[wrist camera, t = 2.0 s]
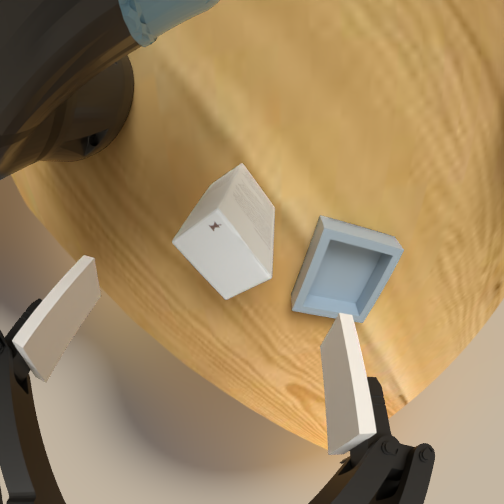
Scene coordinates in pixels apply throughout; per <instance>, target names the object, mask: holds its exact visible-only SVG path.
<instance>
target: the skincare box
mask: <svg viewBox="0 0 504 504" xmlns="http://www.w3.org/2000/svg"><path fill="white" fill-rule="evenodd" d="M274 220H275V207H274V206H273V204H272V203H271V202H270V200H269V199H268V197H267V196H266V195H265V193H264V192H263V190H262V189H261V188H260V186H259V185H258V183H257V182H256V181H255V179H254V178H253V177H252V175H251V174H250V173H249V171H248V170H247V168H246V167H245V166H244V164H243V163H241V164H240V165H238V166H237V167H235V168H234V169H232V170H231V171H229V172H228V173H226V174H225V175H223V176H222V177H221V178H219V179H218V180H216V181H215V182H214V183H212V184H211V185H210V186H209V188H208V189H207V190H206V192H205V193H204V194H203V196H202V197H201V199H200V200H199V202H198V203H197V204H196V206H195V207H194V209H193V210H192V212H191V213H190V215H189V216H188V218H187V219H186V221H185V222H184V223H183V225H182V227H181V228H180V230H179V231H178V233H177V234H176V235H175V237H174V239H173V240H172V243H173V244H174V245H175V247H176V248H177V249H178V250H179V251H180V252H181V253H182V254H183V255H184V256H185V258H186V259H187V260H188V261H189V262H190V263H191V264H192V265H193V266H194V267H195V268H196V269H197V271H198V272H199V273H200V274H201V275H202V276H203V277H204V278H205V279H206V280H207V281H208V282H209V283H210V284H211V285H212V286H213V287H214V289H215V290H216V291H217V292H218V293H219V294H220V295H221V296H222V297H223V298H224V299H225V300H228V299H229V298H231V297H234V296H236V295H238V294H240V293H242V292H244V291H246V290H248V289H251V288H253V287H255V286H257V285H259V284H261V283H263V282H265V281H268V280H270V279H271V278H272V270H273V245H274Z"/></svg>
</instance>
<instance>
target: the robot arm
mask: <svg viewBox="0 0 504 504" xmlns="http://www.w3.org/2000/svg"><path fill="white" fill-rule="evenodd" d="M219 1H220V0H0V180H1V179H3V178H5V177H7V176H9V175H11V174H13V173H15V172H17V171H19V170H21V169H23V168H25V167H27V166H28V165H31V164H33V163H35V162H37V161H64V162H72V161H78V160H81V159H84V158H86V157H89V156H91V155H93V154H96V153H98V152H99V151H101V150H102V149H104V148H105V147H106V146H107V145H108V144H110V143H111V141H112V140H113V139H114V138H115V137H116V135H117V134H118V133H119V131H120V130H121V128H122V126H123V124H124V122H125V120H126V118H127V115H128V113H129V110H130V106H131V102H132V97H133V86H134V81H133V71H132V67H131V63H130V61H129V58H128V56H127V55H128V54H129V53H131V52H133V51H134V50H136V49H138V48H139V47H141V46H143V47H146V46H148V45H150V44H152V43H153V42H155V41H156V39H157V37H158V36H159V35H161V34H163V33H165V32H166V31H168V30H170V29H171V28H173V27H175V26H177V25H179V24H181V23H182V22H184V21H186V20H188V19H190V18H192V17H194V16H196V15H199V14H201V13H203V12H205V11H207V10H209V9H210V8H212V7H213V6H214V5H216V4H217V3H218V2H219ZM100 297H101V292H100V287H99V281H98V276H97V270H96V264H95V258H93V257H90V256H86V255H83V256H82V257H81V258H80V259H79V260H78V261H77V263H76V264H75V265H74V266H73V267H72V268H71V269H70V270H69V271H68V272H67V273H66V274H65V276H64V277H63V278H62V279H61V280H60V281H59V282H58V283H57V285H56V286H55V287H54V288H53V289H52V290H51V291H50V292H49V294H48V295H47V296H46V297H45V299H44V300H41V299H38V300H36V301H35V302H33V303H32V304H31V305H30V306H29V307H28V308H27V310H26V312H24V313H23V315H22V316H21V318H19V320H18V321H17V322H16V323H15V325H14V326H13V327H12V329H11V330H10V331H9V333H8V334H7V336H6V337H4V336H3V334H2V332H1V331H0V466H1V470H2V474H3V477H4V480H5V484H6V487H7V490H8V493H9V499H8V501H7V504H66V503H65V501H64V499H63V497H62V494H61V492H60V490H59V487H58V485H57V482H56V480H55V477H54V475H53V472H52V469H51V466H50V463H49V460H48V457H47V454H46V451H45V447H44V444H43V441H42V437H41V433H40V429H39V425H38V421H37V416H36V411H35V407H34V400H33V395H32V388H31V382H30V376H29V374H28V373H29V371H30V370H31V371H32V372H33V374H34V375H35V376H36V377H37V378H39V379H41V380H42V381H44V382H47V380H48V378H49V377H50V375H51V373H52V371H53V370H54V368H55V366H56V364H57V363H58V361H59V359H60V358H61V356H62V354H63V353H64V351H65V350H66V348H67V346H68V345H69V343H70V342H71V340H72V338H73V337H74V335H75V334H76V332H77V331H78V329H79V328H80V326H81V325H82V323H83V322H84V320H85V319H86V317H87V316H88V314H89V312H90V311H91V310H92V308H93V307H94V306H95V304H96V303H97V301H98V300H99V298H100ZM320 349H321V359H322V369H323V380H324V391H325V404H326V419H327V436H328V454H329V455H335V454H345V453H346V452H348V451H350V457H348V458H346V459H344V460H342V462H340V463H341V464H342V463H344V462H345V463H344V464H343V465H342V466H341V468H340V469H339V470H338V471H337V472H336V474H335V475H334V476H333V477H332V478H331V480H330V481H329V482H328V483H327V484H326V485H325V486H324V488H323V489H322V490H321V491H320V492H319V493H318V494H317V495H316V496H315V497H314V499H313V500H311V501H310V502H309V503H308V504H423V503H424V500H425V496H426V493H427V489H428V485H429V482H430V477H431V474H432V469H433V465H434V460H435V452H434V449H433V448H432V447H431V445H429V444H426V443H423V444H420V445H418V446H416V447H412V446H407V445H403V444H400V443H399V441H398V440H397V439H396V438H395V437H393V436H392V435H391V431H390V426H389V421H388V415H387V410H386V405H385V400H384V398H383V391H382V387H381V385H380V383H379V381H378V380H377V378H376V377H367V376H366V371H365V366H364V362H363V357H362V353H361V348H360V344H359V340H358V336H357V332H356V328H355V324H354V320H353V316H352V315H350V314H344V313H339V314H338V316H337V318H336V319H335V321H334V323H333V325H332V327H331V328H330V330H329V332H328V334H327V335H326V337H325V339H324V341H323V342H322V344H321V346H320ZM0 504H3V502H2V495H1V488H0Z"/></svg>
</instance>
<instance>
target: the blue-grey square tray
mask: <svg viewBox="0 0 504 504" xmlns="http://www.w3.org/2000/svg"><path fill="white" fill-rule="evenodd" d="M403 251H404V249H403V248H402V246H401V245H400V244H399V242H398V241H397V239H396V238H395V237H394V236H391V235H387V234H384V233H381V232H378V231H374V230H371V229H367V228H364V227H361V226H357V225H354V224H350V223H346V222H343V221H339V220H336V219H332V218H328V217H325V216H321V215H320V217H319V220H318V223H317V226H316V229H315V231H314V234H313V237H312V240H311V243H310V245H309V248H308V251H307V254H306V256H305V259H304V262H303V265H302V267H301V270H300V273H299V275H298V278H297V280H296V283H295V286H294V288H293V291H292V293H291V302H292V311H297V312H302V313H307V314H313V315H318V316H324V317H330V318H337V316H338V314H339V313H344V314H350V315H352V316H353V320H354V322H360V323H363V322H364V320H365V318H366V317H367V315H368V314H369V312H370V310H371V309H372V307H373V305H374V304H375V302H376V300H377V299H378V297H379V295H380V294H381V292H382V290H383V288H384V287H385V285H386V283H387V281H388V280H389V278H390V276H391V274H392V272H393V270H394V268H395V267H396V265H397V263H398V261H399V259H400V257H401V255H402V253H403Z"/></svg>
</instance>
